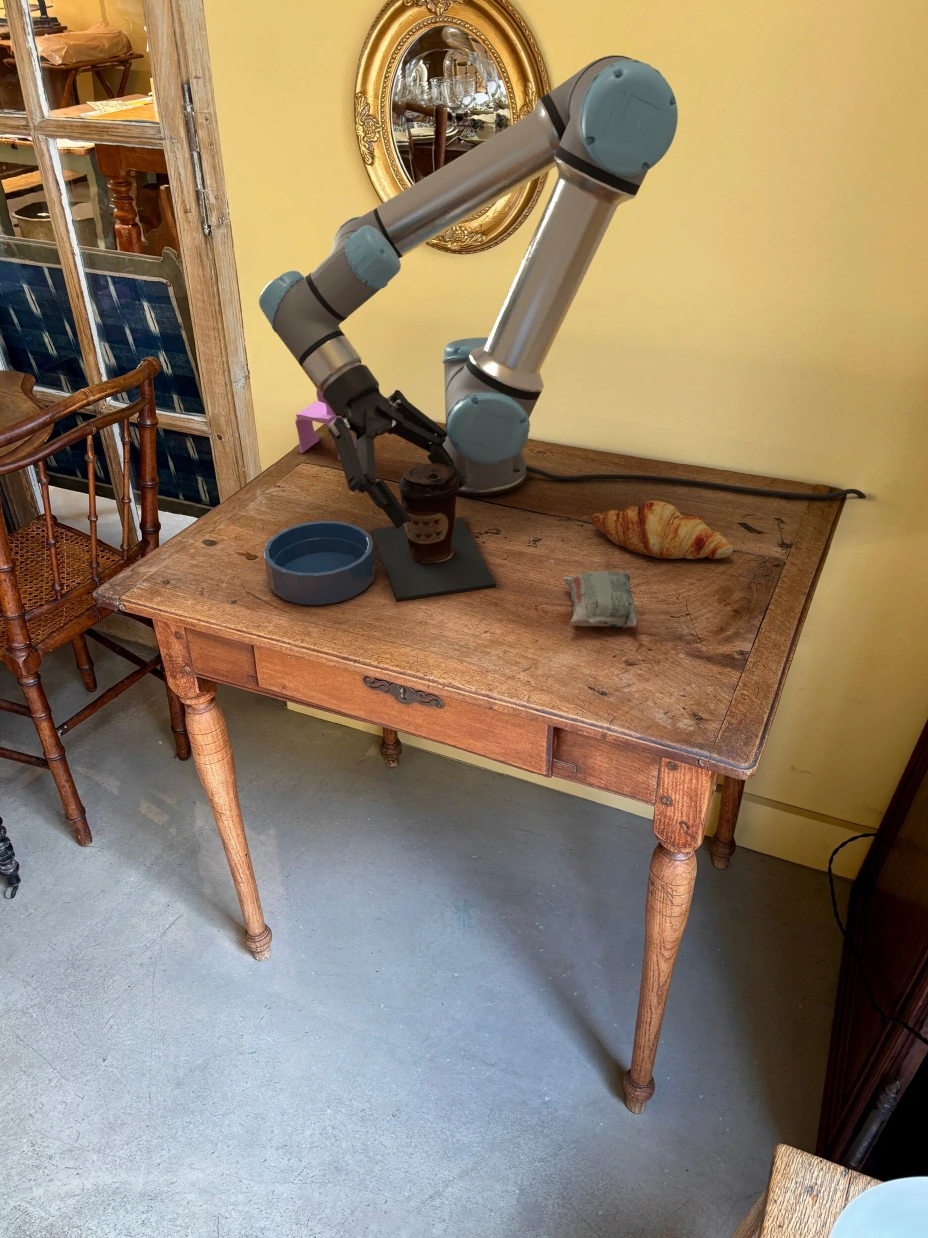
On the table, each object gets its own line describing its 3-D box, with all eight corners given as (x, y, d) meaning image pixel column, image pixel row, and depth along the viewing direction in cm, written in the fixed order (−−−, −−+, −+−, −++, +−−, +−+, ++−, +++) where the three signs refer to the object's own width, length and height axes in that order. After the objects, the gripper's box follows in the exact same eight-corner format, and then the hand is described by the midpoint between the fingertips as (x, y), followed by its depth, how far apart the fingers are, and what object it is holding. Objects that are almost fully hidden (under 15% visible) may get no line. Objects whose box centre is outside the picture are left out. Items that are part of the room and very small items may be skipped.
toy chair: (318, 437, 173) (309, 357, 165) (360, 444, 170) (353, 363, 162) (294, 454, 167) (283, 372, 158) (337, 462, 164) (329, 379, 155)
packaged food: (568, 639, 119) (570, 607, 116) (562, 589, 129) (564, 558, 126) (637, 640, 119) (641, 608, 116) (626, 590, 128) (629, 559, 126)
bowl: (366, 544, 140) (363, 515, 137) (383, 597, 128) (381, 566, 125) (265, 558, 137) (260, 528, 134) (273, 614, 125) (268, 582, 122)
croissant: (731, 571, 138) (744, 518, 137) (723, 573, 129) (738, 516, 127) (594, 541, 145) (605, 490, 144) (577, 541, 136) (589, 486, 135)
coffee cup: (453, 572, 132) (450, 488, 124) (396, 566, 133) (390, 484, 126) (465, 541, 139) (464, 461, 131) (411, 537, 140) (406, 457, 133)
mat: (461, 520, 146) (461, 516, 145) (496, 586, 130) (496, 583, 129) (372, 532, 143) (372, 528, 143) (396, 601, 127) (396, 598, 127)
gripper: (384, 368, 141) (467, 485, 142) (267, 420, 124) (362, 552, 125) (411, 339, 135) (497, 461, 136) (292, 389, 119) (391, 528, 120)
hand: (432, 505), depth 131 cm, fingers open, 12 cm apart
